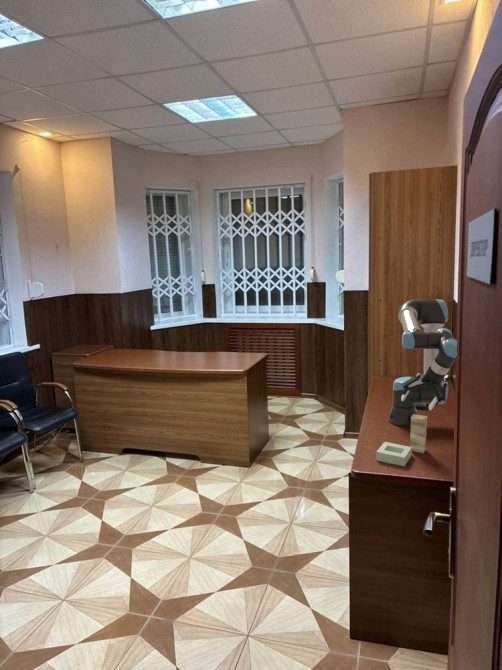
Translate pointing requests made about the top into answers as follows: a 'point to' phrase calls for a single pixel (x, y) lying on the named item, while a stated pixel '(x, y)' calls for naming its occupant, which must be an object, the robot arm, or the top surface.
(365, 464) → the top surface
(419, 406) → the disk drive
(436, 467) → the top surface
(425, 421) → the wooden block
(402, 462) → the end cap
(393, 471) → the top surface
